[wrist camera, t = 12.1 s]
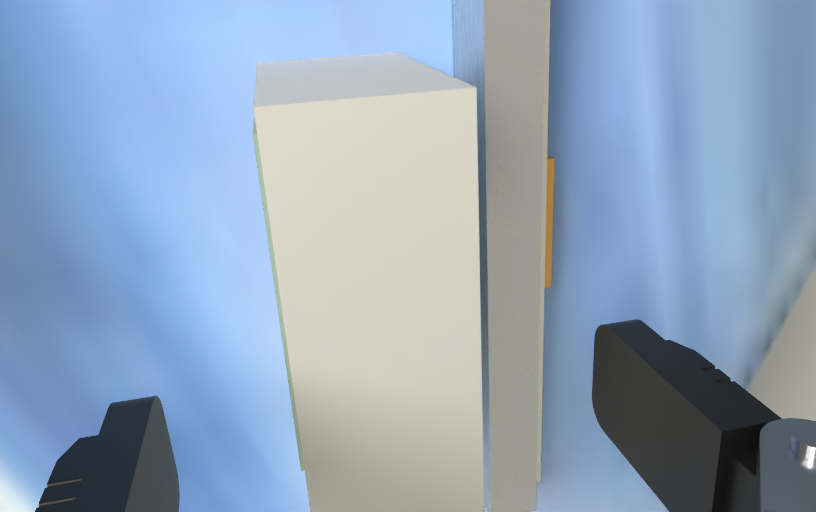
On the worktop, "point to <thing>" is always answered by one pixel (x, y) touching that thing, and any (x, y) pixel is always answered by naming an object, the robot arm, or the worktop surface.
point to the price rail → (510, 231)
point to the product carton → (376, 277)
